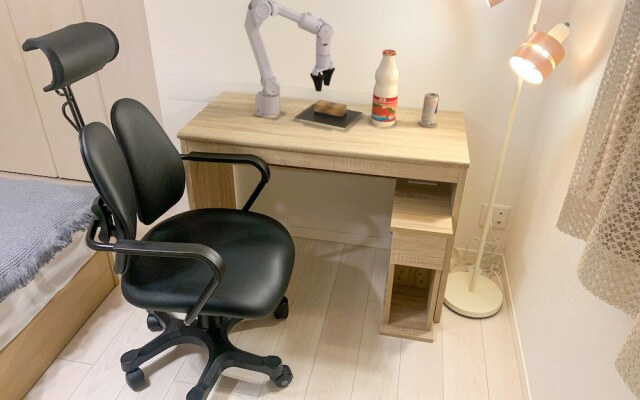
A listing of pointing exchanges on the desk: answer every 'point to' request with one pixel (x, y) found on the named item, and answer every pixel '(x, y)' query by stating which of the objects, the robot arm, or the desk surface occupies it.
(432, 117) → the energy drink
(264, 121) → the desk surface
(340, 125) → the slate board
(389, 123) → the strawberry milk bottle
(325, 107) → the eraser
